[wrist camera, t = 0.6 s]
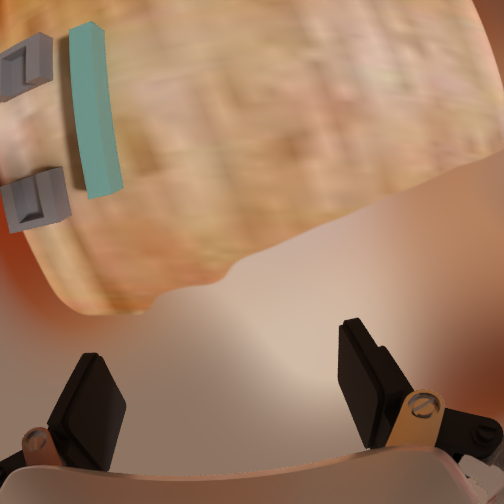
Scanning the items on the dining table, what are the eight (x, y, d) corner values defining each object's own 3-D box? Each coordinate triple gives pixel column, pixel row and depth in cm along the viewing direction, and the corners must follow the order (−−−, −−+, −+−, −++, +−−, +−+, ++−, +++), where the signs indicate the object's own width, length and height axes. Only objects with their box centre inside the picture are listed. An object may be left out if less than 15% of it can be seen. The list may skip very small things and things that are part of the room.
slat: (84, 39, 28) (69, 29, 24) (105, 31, 28) (91, 20, 24) (103, 192, 35) (88, 199, 31) (124, 187, 35) (111, 193, 31)
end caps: (4, 62, 27) (-10, 59, 23) (52, 38, 27) (39, 32, 24) (23, 226, 35) (10, 233, 32) (71, 215, 36) (59, 222, 32)
